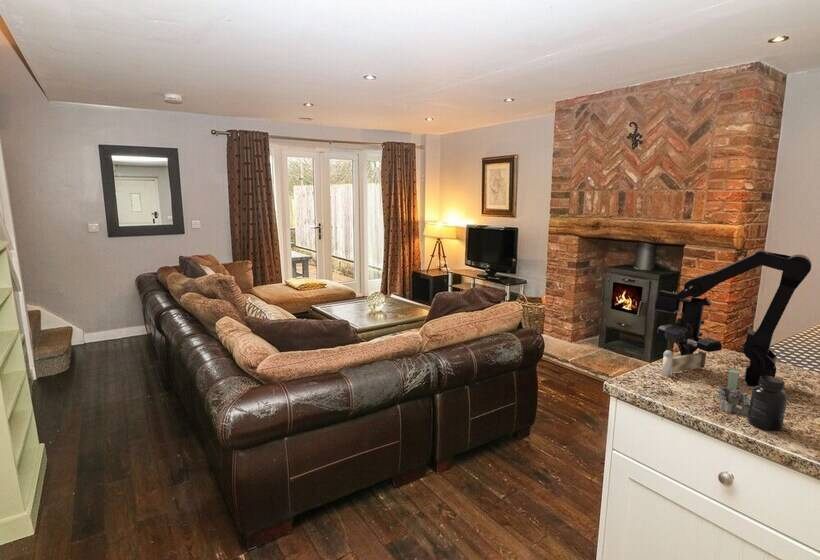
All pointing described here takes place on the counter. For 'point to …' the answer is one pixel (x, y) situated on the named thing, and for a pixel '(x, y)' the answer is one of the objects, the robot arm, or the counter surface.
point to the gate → (688, 362)
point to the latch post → (733, 378)
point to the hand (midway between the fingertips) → (684, 362)
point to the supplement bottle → (768, 404)
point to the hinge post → (667, 363)
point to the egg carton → (733, 400)
